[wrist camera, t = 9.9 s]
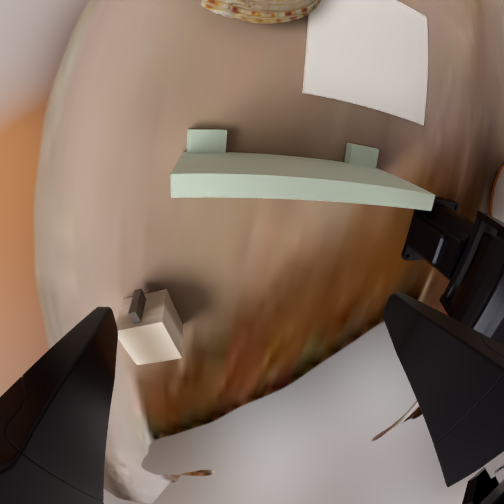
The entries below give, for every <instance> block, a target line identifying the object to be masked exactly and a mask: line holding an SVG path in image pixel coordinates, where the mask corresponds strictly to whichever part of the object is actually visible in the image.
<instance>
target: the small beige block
mask: <svg viewBox="0 0 504 504" xmlns="http://www.w3.org/2000/svg"><path fill="white" fill-rule="evenodd" d="M116 325H117V328H118V339H119V340H120V342H121V343H122V345H123V346H124V348H125V349H126V350H127V352H128V353H129V355H130V356H131V357H132V359H133V360H134V362H135V363H136V364H137V365H141V364H148V363H155V362H161V361H167V360H173V359H178V358H182V333H183V324H182V322H181V319H180V317H179V315H178V313H177V311H176V309H175V307H174V304H173V302H172V300H171V298H170V295H169V293H168V291H167V289H164V290H159V291H155V292H151V293H146V294H144V293H143V291H142V289H138V290H135V291H134V294H133V297H129V298H125V299H123V302H122V305H121V308H120V311H119V314H118V318H117V321H116Z"/></svg>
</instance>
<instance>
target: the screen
mask: <svg viewBox="0 0 504 504" xmlns="http://www.w3.org/2000/svg"><path fill="white" fill-rule="evenodd" d="M226 141H227V130H223V129H188V133H187V152H183V153H182V154H181V156H180V158H179V160H178V161H177V163H176V165H175V167H174V169H173V170H172V172H171V198H181V197H233V198H274V199H298V200H316V201H332V202H346V203H359V204H371V205H382V206H392V207H401V208H410V209H419V210H427V211H431V210H432V207H433V203H434V199H435V195H434V194H432V193H430V192H428V191H426V190H424V189H422V188H420V187H418V186H416V185H414V184H412V183H410V182H407V181H405V180H403V179H401V178H399V177H396V176H394V175H392V174H390V173H387V172H385V171H382V170H380V169H378V168H376V166H377V160H378V154H379V149H376V148H373V147H368V146H363V145H358V144H353V143H347V146H346V153H345V160H344V162H340V161H332V160H324V159H316V158H307V157H297V156H286V155H273V154H258V153H238V152H226Z"/></svg>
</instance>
